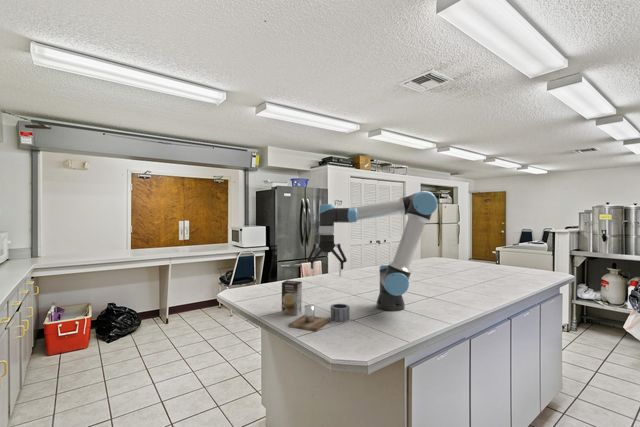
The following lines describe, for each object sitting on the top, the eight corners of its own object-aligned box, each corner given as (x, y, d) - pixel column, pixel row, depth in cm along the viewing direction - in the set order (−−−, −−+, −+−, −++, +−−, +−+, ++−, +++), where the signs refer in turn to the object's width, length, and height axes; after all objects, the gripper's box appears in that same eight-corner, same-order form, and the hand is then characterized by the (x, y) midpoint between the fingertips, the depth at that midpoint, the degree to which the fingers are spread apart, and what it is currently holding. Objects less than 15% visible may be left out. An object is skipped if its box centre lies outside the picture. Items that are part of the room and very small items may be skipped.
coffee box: (280, 313, 159) (280, 282, 160) (286, 310, 166) (286, 280, 166) (297, 315, 156) (297, 283, 157) (302, 312, 163) (302, 281, 163)
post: (316, 320, 145) (316, 305, 145) (311, 323, 141) (311, 308, 141) (307, 319, 147) (307, 304, 147) (303, 322, 143) (303, 306, 143)
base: (329, 321, 148) (329, 318, 148) (316, 331, 135) (316, 328, 135) (303, 317, 154) (303, 315, 154) (288, 326, 141) (288, 323, 141)
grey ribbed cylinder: (351, 317, 154) (351, 304, 154) (345, 322, 146) (345, 309, 146) (335, 314, 158) (334, 302, 158) (327, 320, 150) (327, 307, 150)
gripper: (351, 233, 162) (352, 274, 162) (304, 233, 166) (305, 273, 166) (350, 234, 155) (351, 277, 155) (301, 234, 159) (301, 276, 159)
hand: (327, 275), depth 160 cm, fingers open, 13 cm apart
